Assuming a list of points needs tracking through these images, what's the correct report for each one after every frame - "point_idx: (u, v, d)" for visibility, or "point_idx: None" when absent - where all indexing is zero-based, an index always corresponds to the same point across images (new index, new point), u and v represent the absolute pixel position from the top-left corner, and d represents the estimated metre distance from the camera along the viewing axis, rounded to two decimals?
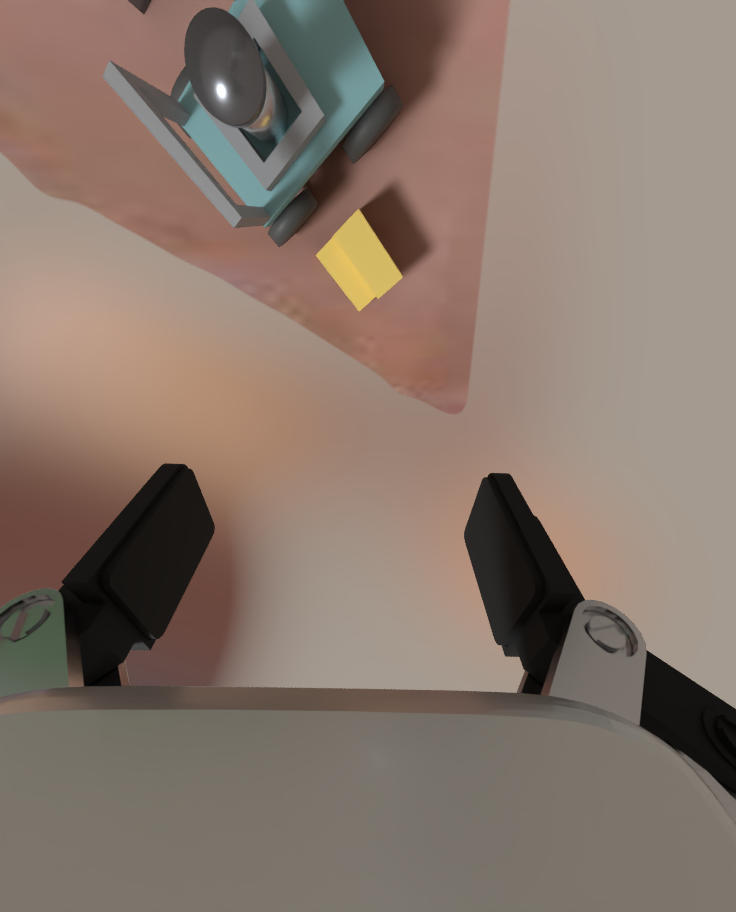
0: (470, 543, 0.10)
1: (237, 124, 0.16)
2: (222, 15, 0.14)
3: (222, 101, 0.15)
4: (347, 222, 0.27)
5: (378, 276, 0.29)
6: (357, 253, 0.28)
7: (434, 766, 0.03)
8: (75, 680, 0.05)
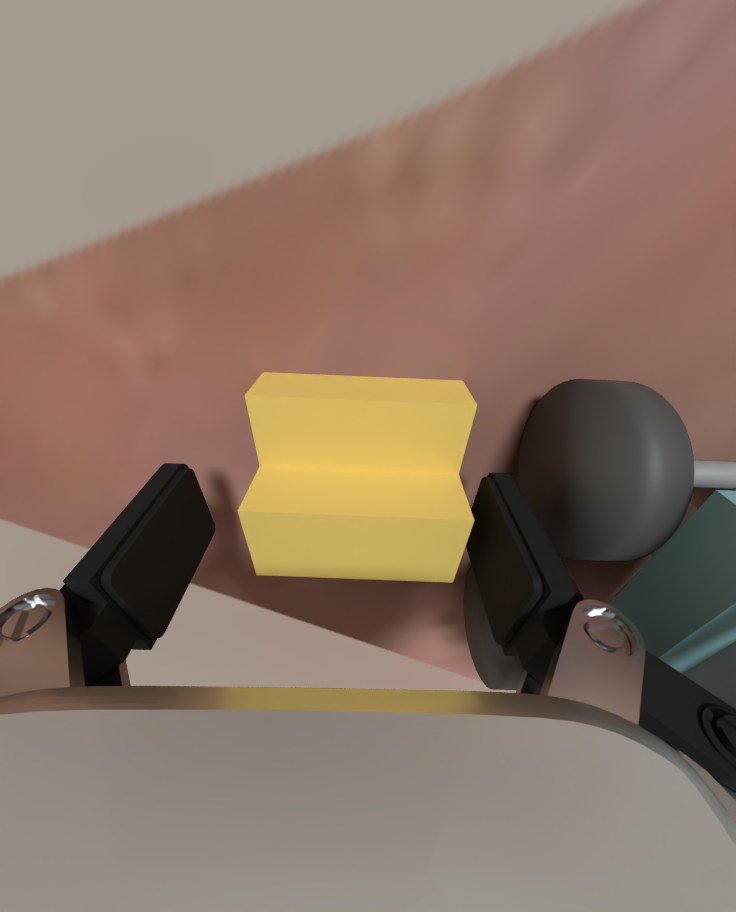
0: (469, 543, 0.10)
1: None
2: None
3: None
4: (457, 557, 0.09)
5: (296, 542, 0.09)
6: (386, 537, 0.09)
7: (435, 768, 0.03)
8: (76, 680, 0.05)
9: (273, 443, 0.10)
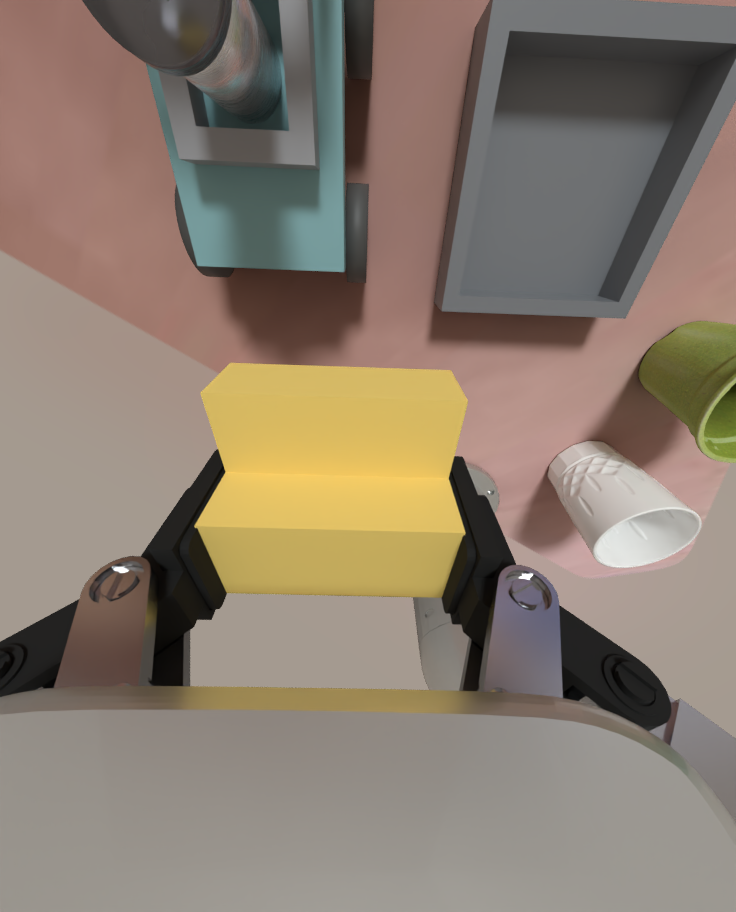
0: None
1: None
2: (197, 35, 0.07)
3: None
4: (448, 572, 0.08)
5: (265, 558, 0.08)
6: (366, 551, 0.08)
7: (435, 768, 0.03)
8: (147, 654, 0.06)
9: (238, 446, 0.08)
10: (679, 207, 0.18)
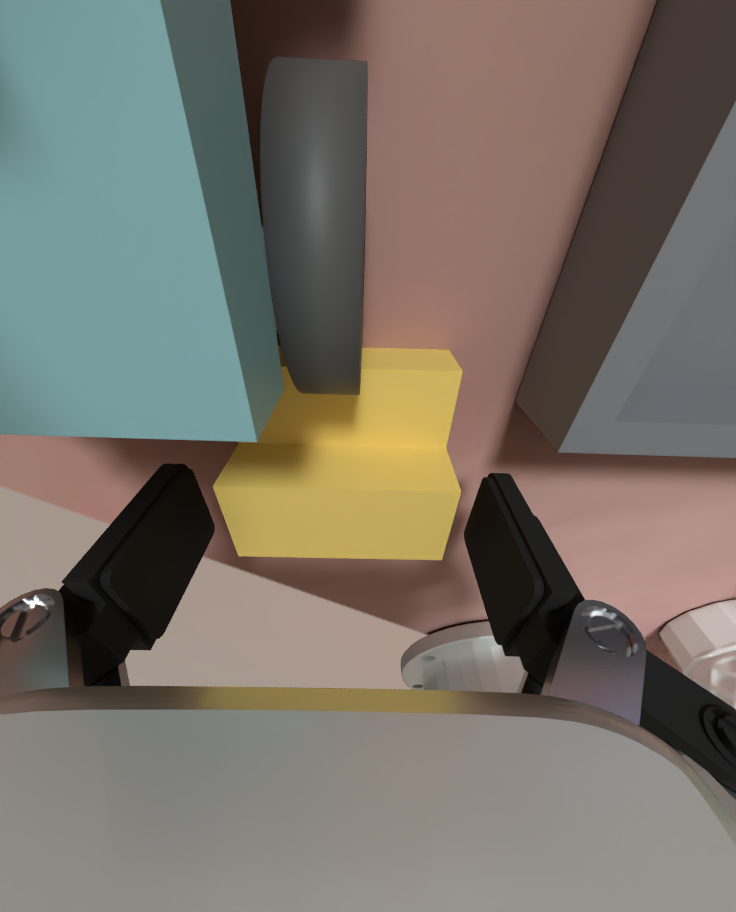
0: (470, 543, 0.10)
1: None
2: None
3: None
4: (445, 533, 0.09)
5: (277, 519, 0.09)
6: (370, 512, 0.09)
7: (434, 766, 0.03)
8: (75, 680, 0.05)
9: None
10: None
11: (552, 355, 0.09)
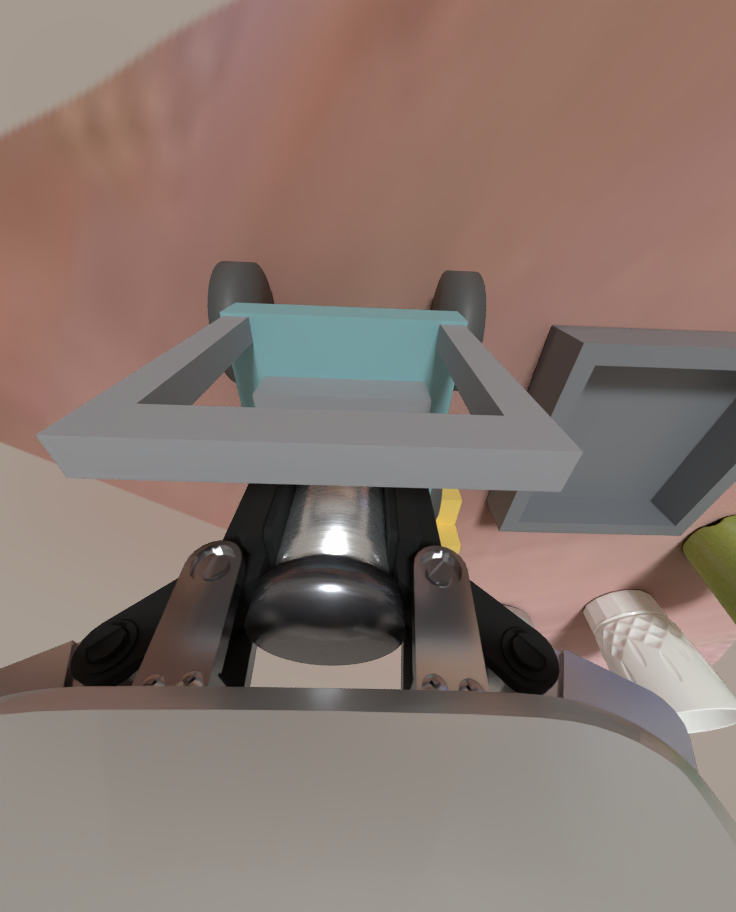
0: None
1: (252, 607, 0.06)
2: (368, 658, 0.08)
3: (298, 613, 0.06)
4: None
5: None
6: None
7: (434, 768, 0.03)
8: (222, 646, 0.06)
9: None
10: None
11: (498, 492, 0.22)
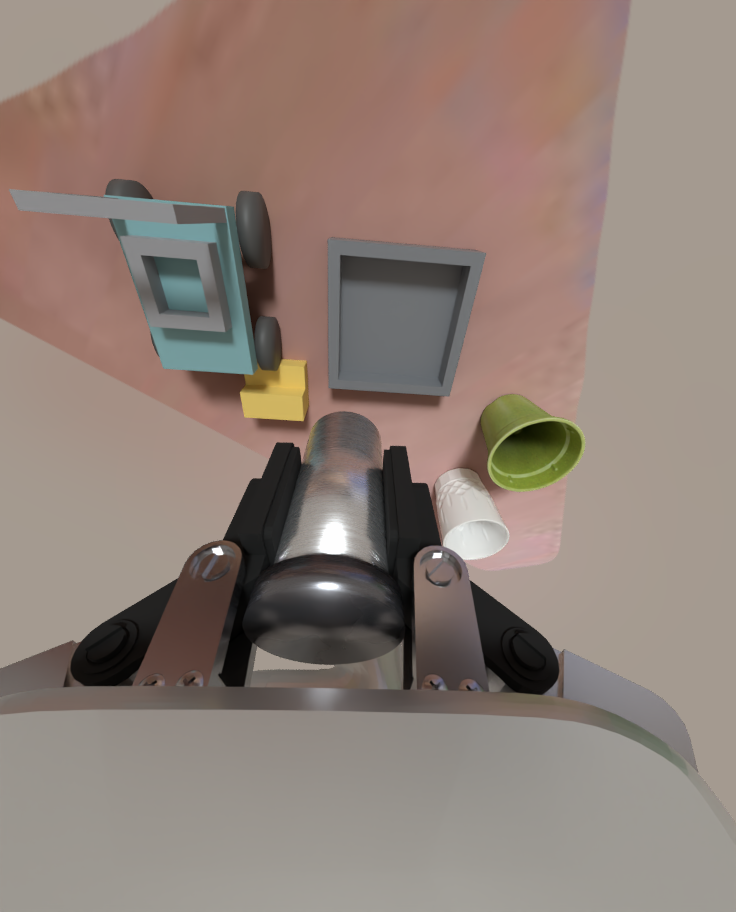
0: None
1: (250, 606, 0.06)
2: (366, 657, 0.08)
3: (296, 612, 0.06)
4: (301, 410, 0.34)
5: (255, 403, 0.33)
6: (280, 402, 0.33)
7: (434, 767, 0.03)
8: (222, 646, 0.06)
9: (249, 376, 0.33)
10: (463, 338, 0.30)
11: None
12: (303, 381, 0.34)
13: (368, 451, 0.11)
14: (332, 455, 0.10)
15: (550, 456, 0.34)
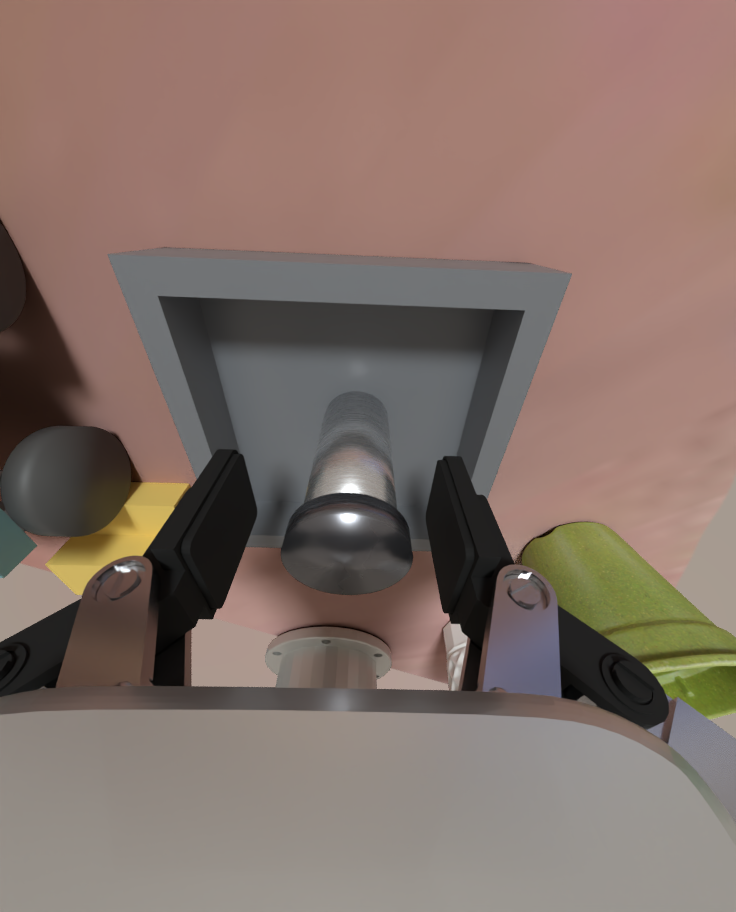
0: (429, 523, 0.11)
1: (289, 533, 0.08)
2: (379, 586, 0.09)
3: (325, 538, 0.08)
4: None
5: (86, 578, 0.17)
6: None
7: (434, 768, 0.03)
8: (148, 653, 0.06)
9: None
10: (497, 463, 0.13)
11: None
12: None
13: (378, 423, 0.12)
14: (348, 424, 0.11)
15: None
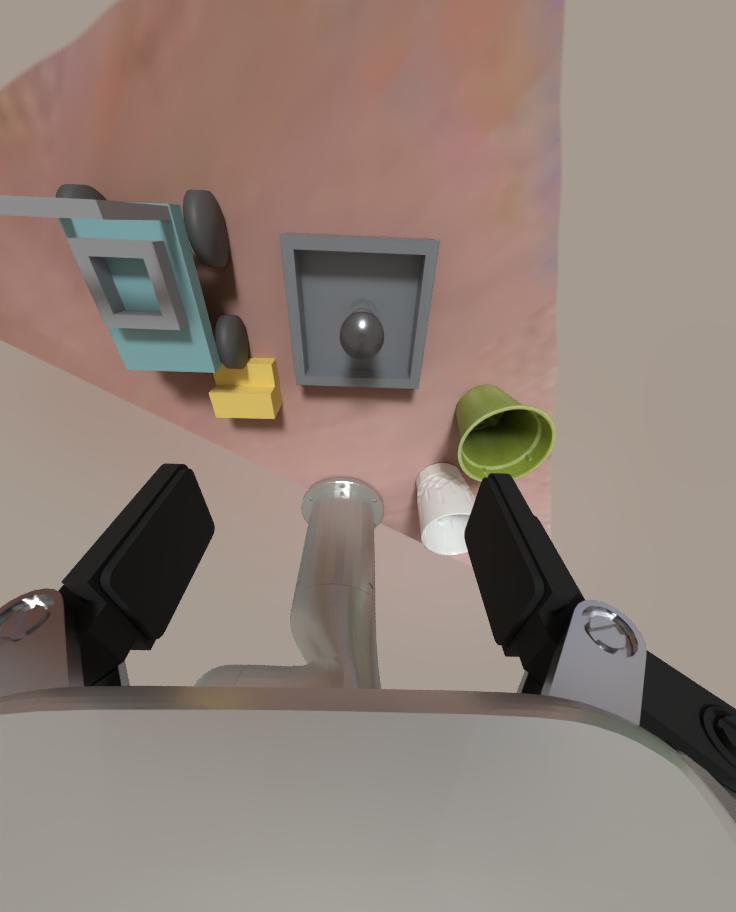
0: (470, 543, 0.10)
1: (343, 323, 0.24)
2: (373, 354, 0.26)
3: (355, 325, 0.24)
4: (271, 408, 0.34)
5: (225, 403, 0.33)
6: (249, 401, 0.33)
7: (435, 768, 0.03)
8: (75, 680, 0.05)
9: (219, 376, 0.34)
10: (425, 329, 0.29)
11: None
12: (272, 379, 0.34)
13: (373, 308, 0.28)
14: (360, 305, 0.28)
15: (525, 446, 0.34)
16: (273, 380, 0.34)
